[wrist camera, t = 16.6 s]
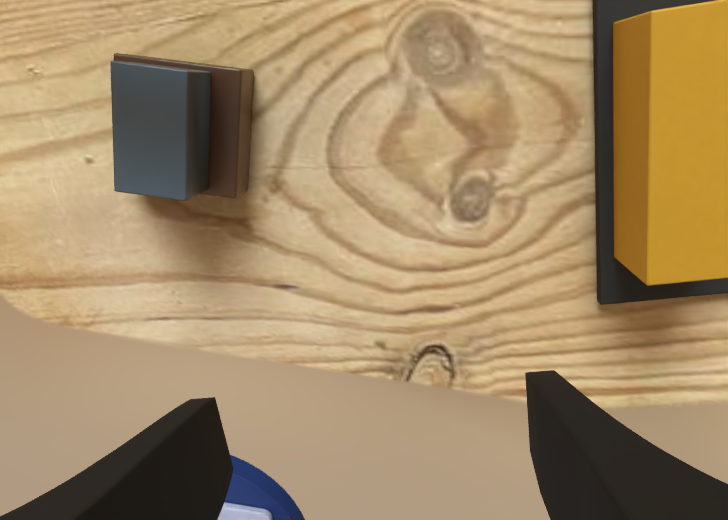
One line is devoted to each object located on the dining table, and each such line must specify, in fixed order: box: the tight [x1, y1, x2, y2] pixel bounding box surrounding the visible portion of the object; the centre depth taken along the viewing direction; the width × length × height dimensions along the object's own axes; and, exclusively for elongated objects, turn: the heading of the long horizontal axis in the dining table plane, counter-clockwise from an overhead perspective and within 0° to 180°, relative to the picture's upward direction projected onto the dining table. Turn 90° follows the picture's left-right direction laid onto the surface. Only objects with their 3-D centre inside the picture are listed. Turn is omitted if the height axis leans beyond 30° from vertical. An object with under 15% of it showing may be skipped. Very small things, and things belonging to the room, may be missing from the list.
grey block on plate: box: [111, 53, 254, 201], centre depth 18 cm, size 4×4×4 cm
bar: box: [613, 0, 728, 286], centre depth 17 cm, size 8×3×3 cm, turn 8°
